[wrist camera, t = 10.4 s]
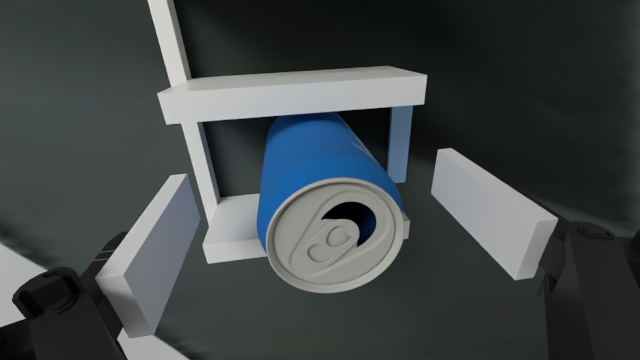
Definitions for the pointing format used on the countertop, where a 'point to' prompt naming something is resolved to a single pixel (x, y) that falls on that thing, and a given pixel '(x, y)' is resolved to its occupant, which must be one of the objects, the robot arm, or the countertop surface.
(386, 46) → the countertop surface
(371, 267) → the beverage can
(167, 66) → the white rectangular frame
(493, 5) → the countertop surface
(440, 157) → the robot arm
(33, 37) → the countertop surface
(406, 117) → the blue bezel
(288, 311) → the countertop surface
